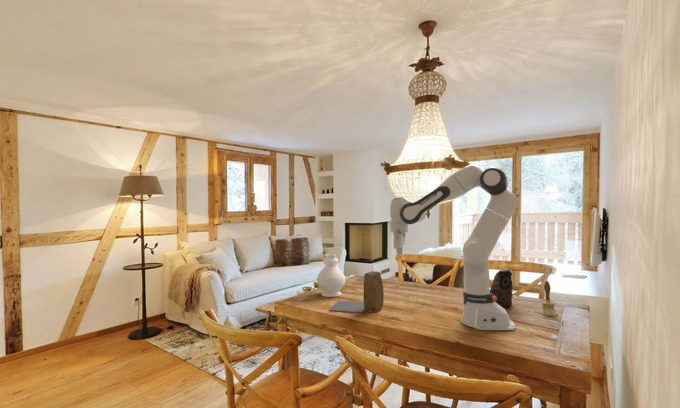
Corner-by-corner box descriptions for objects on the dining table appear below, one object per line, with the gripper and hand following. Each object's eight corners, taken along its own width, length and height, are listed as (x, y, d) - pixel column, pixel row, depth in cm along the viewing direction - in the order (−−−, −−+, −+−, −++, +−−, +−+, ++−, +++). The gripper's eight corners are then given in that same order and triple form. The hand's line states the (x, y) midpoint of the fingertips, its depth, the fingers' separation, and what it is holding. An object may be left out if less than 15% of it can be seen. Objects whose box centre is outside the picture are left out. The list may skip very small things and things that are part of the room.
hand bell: (547, 316, 164) (546, 283, 164) (534, 311, 172) (534, 279, 172) (562, 315, 165) (561, 282, 166) (549, 310, 174) (548, 279, 174)
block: (374, 313, 174) (373, 274, 174) (362, 311, 179) (361, 273, 179) (385, 308, 182) (385, 271, 183) (374, 306, 187) (373, 269, 188)
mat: (369, 303, 193) (369, 302, 193) (362, 313, 176) (362, 312, 176) (338, 301, 198) (338, 300, 198) (328, 311, 181) (328, 309, 181)
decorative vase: (336, 289, 227) (335, 251, 227) (351, 295, 212) (350, 254, 212) (312, 293, 218) (311, 254, 218) (326, 299, 202) (325, 257, 203)
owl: (510, 302, 189) (509, 266, 189) (521, 309, 177) (520, 270, 177) (486, 302, 190) (485, 266, 190) (496, 309, 177) (495, 270, 177)
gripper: (403, 230, 166) (403, 258, 166) (406, 227, 186) (407, 252, 186) (390, 230, 168) (390, 258, 168) (395, 227, 188) (395, 252, 188)
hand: (399, 255), depth 177 cm, fingers open, 5 cm apart
